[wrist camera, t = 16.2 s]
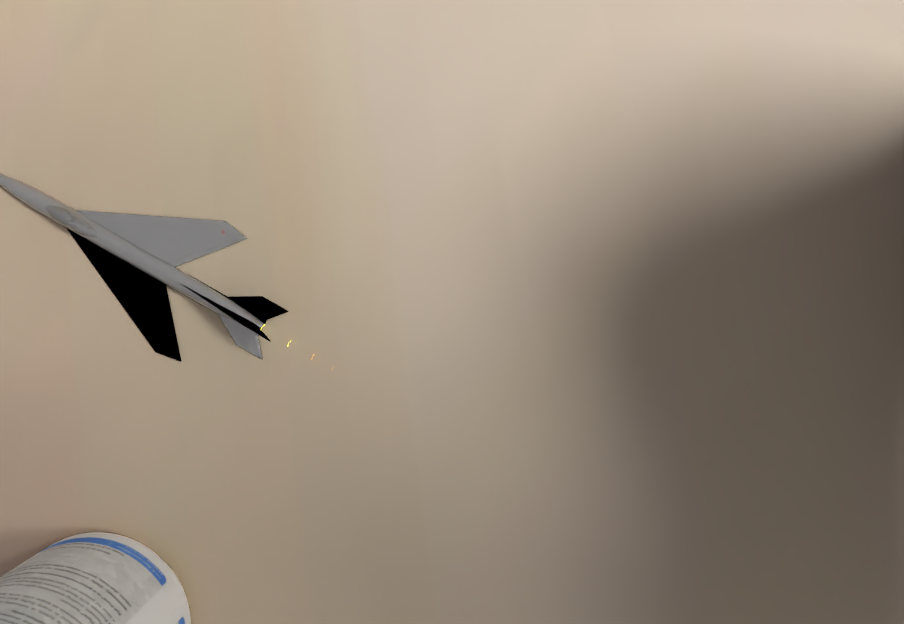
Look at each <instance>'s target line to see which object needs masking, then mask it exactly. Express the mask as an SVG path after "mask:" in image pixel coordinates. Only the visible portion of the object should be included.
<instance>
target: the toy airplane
mask: <svg viewBox="0 0 904 624" xmlns="http://www.w3.org/2000/svg"><path fill="white" fill-rule="evenodd" d="M0 185H1V186H2V187H3V188H5V189H6V190H7V191H9V192H10V193H11V194H13V195H14V196H15V197H17V198H18V199H20V200H21V201H23V202H24V203H26V204H27V205H29V206H30V207H32V208H33V209H35V210H37V211H38V212H40V213H42V214H43V215H45V216H47V217H49V218H50V219H52V220H54V221H56V222H57V223H59V224H61V225H63V226H64V227H66V228H67V229H68V231H69V232H70V233H71V235H72V236H73V238H74V239H75V240H76V242H77V243H78V244H79V246H80V247H81V249H82V250H83V251H84V253H85V254H86V256H87V257H88V258H89V260H90V261H91V263H92V264H93V265H94V267H95V268H96V270H97V271H98V272H99V274H100V275H101V277H102V278H103V279H104V281H105V282H106V283H107V285H108V286H109V288H110V289H111V290H112V292H113V293H114V295H115V296H116V297H117V299H118V300H119V302H120V303H121V304H122V306H123V307H124V309H125V310H126V311H127V313H128V314H129V316H130V317H131V318H132V320H133V321H134V322H135V324H136V325H137V327H138V328H139V329H140V331H141V332H142V334H143V335H144V336H145V338H146V339H147V341H148V342H149V343H150V345H151V346H152V348H153V349H154V350H155V352H157V353H159V354H162V355H165V356H168V357H170V358H173V359H176V360H179V361H181V358H180V353H179V348H178V343H177V338H176V333H175V328H174V323H173V318H172V313H171V308H170V303H169V298H168V293H167V288H166V285H168V286H170V287H171V288H173V289H175V290H177V291H178V292H180V293H182V294H184V295H185V296H187V297H189V298H191V299H193V300H194V301H196V302H198V303H200V304H201V305H203V306H205V307H207V308H208V309H210V310H212V311H214V312H215V313H217V314H218V315H219V316H220V318H221V320H222V321H223V323H224V325H225V326H226V328H227V330H228V331H229V333H230V335H231V336H232V338H233V340H234V342H235V343H236V345H238V346H240V347H242V348H243V349H245V350H247V351H249V352H250V353H252V354H254V355H255V356H257V357H259V358H261V359H262V354H261V349H260V344H259V339H258V336H259V335H260V336H262V337H263V338H265V339H267V340H268V341H270V340H269V339H268V337H267V336H266V335H265V334H264V333H263V332H262V331H261V329H262V327H263V326H264V325H265V323H266V321H267V319H270V318H273V317H275V316H278V315H281V314H283V313H286V312H288V311H287V310H285V309H284V308H282V307H280V306H278V305H277V304H275V303H273V302H271V301H269V300H268V299H266V298H264V297H262V296H252V297H227V296H225V295H223V294H222V293H220V292H218V291H216V290H215V289H213V288H211V287H209V286H208V285H206V284H204V283H202V282H200V281H199V280H197V279H195V278H193V277H192V276H190V275H188V274H186V273H185V272H183V271H181V270H179V269H178V268H176V266H178V265H181V264H183V263H186V262H189V261H191V260H194V259H196V258H199V257H201V256H204V255H206V254H209V253H212V252H214V251H217V250H219V249H222V248H224V247H227V246H229V245H232V244H235V243H237V242H240V241H242V240H245V239H247V238H246V237H245V236H243V235H242V234H241V233H240V232H238V231H237V230H236V229H235V228H234V227H232V226H231V225H230V224H229V223H227V222H226V221H218V220H204V219H190V218H177V217H163V216H149V215H135V214H121V213H107V212H94V211H80V210H74V209H72V208H71V207H69V206H67V205H65V204H63V203H62V202H60V201H58V200H56V199H55V198H53V197H51V196H49V195H47V194H46V193H44V192H42V191H40V190H38V189H36V188H34V187H31V186H29V185H27V184H25V183H23V182H20V181H18V180H16V179H13V178H11V177H8V176H6V175H3V174H0ZM288 344H289V343H288ZM288 346H289V345H288ZM288 346H287V347H288ZM312 357H313V356H312ZM311 359H312V358H311ZM332 370H333V368H332ZM345 378H346V377H345Z"/></svg>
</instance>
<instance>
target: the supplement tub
mask: <svg viewBox="0 0 904 624" xmlns="http://www.w3.org/2000/svg"><path fill="white" fill-rule="evenodd" d="M0 624H191V618H190V610H189V605H188V601H187V598H186V594H185V592H184V590H183V587H182V585H181V583H180V581H179V580H178V578H177V576H176V575H175V573H174V572H173V571H172V570H171V568H170V567H169V566H168V565H167V564H166V563H165V562H164V561H163V560H162V559H161V558H160V557H159V556H158V555H157V554H156V553H154V552H153V551H152V550H151V549H149V548H148V547H146V546H145V545H143V544H141V543H139V542H137V541H135V540H133V539H131V538H128V537H125V536H122V535H118V534H112V533H104V532H91V533H82V534H77V535H73V536H70V537H67V538H64V539H62V540H60V541H58V542H56V543H54V544H52V545H50V546H49V547H47V548H45V549H44V550H42V551H40V552H38V553H37V554H35V555H34V556H32V557H31V558H29V559H28V560H26V561H24V562H23V563H21V564H20V565H18V566H17V567H15V568H14V569H12V570H10V571H9V572H7V573H6V574H4V575H3V576H1V577H0Z"/></svg>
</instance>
